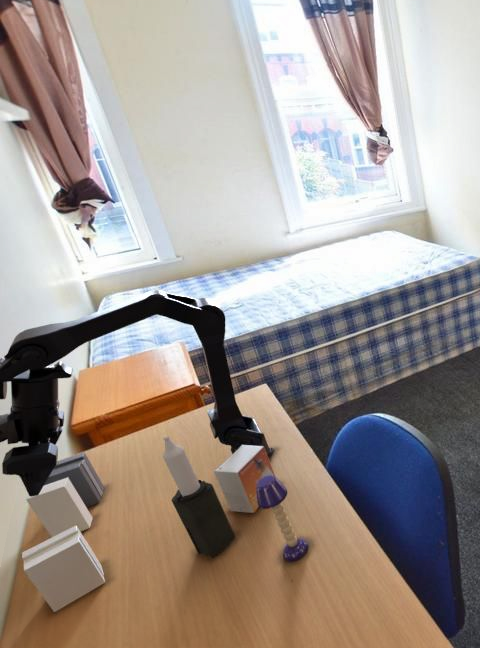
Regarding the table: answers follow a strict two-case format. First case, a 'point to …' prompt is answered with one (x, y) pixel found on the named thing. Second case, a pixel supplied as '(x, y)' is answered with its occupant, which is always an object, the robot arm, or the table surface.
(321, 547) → the table surface
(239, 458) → the small box
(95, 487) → the grey books
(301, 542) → the toy lamp
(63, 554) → the white books
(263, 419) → the table surface
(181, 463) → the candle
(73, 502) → the white tall block
